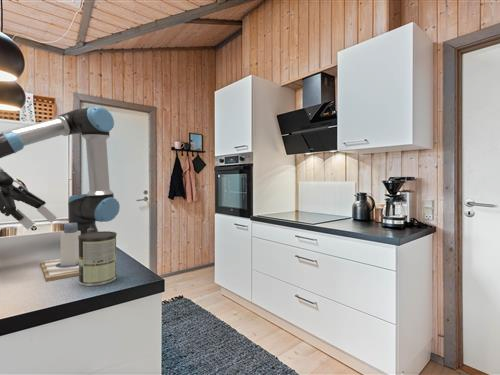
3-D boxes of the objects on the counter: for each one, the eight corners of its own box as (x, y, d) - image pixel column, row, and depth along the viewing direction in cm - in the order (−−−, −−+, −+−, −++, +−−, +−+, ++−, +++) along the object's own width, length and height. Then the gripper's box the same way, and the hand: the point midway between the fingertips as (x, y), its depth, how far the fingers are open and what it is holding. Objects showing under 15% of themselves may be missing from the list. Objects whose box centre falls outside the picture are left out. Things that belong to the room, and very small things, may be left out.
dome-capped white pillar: (67, 261, 100) (66, 222, 99) (80, 261, 100) (80, 222, 100) (60, 265, 95) (60, 224, 95) (74, 265, 96) (74, 224, 96)
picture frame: (40, 264, 101) (40, 260, 101) (90, 256, 111) (90, 253, 111) (46, 281, 84) (46, 276, 84) (104, 270, 95) (104, 266, 95)
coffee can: (70, 283, 83) (69, 235, 83) (100, 272, 93) (100, 230, 92) (95, 288, 79) (95, 238, 79) (124, 276, 89) (124, 232, 89)
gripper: (10, 185, 105) (54, 224, 108) (-50, 187, 80) (9, 238, 83) (26, 171, 106) (69, 210, 109) (-29, 169, 81) (29, 220, 84)
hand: (43, 222), depth 96 cm, fingers open, 13 cm apart
